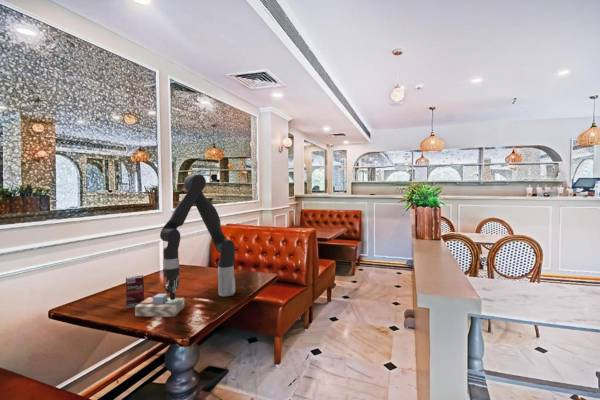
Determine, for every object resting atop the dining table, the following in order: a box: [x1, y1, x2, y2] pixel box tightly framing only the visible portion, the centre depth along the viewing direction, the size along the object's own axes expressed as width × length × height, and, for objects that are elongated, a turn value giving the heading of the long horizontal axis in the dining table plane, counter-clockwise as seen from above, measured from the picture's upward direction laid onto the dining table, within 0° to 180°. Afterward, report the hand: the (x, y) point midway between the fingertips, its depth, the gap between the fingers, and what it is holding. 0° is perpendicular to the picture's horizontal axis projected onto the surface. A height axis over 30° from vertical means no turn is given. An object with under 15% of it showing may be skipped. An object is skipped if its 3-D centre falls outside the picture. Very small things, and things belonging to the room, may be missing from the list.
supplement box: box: [125, 274, 145, 309], centre depth 164 cm, size 9×5×16 cm, turn 121°
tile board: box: [134, 297, 185, 318], centre depth 157 cm, size 20×12×5 cm, turn 87°
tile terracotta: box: [141, 298, 153, 304], centre depth 157 cm, size 5×5×4 cm
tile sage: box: [165, 299, 179, 305], centre depth 156 cm, size 5×5×4 cm
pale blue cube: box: [152, 293, 168, 304], centre depth 157 cm, size 5×5×4 cm
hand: (172, 299), depth 156 cm, fingers closed
